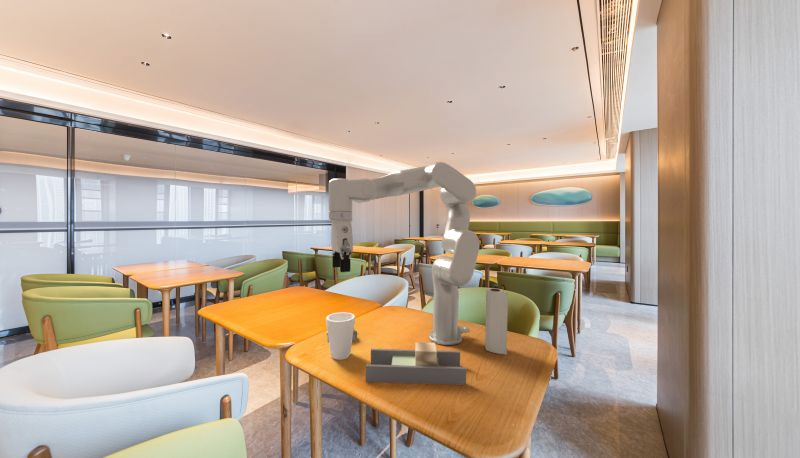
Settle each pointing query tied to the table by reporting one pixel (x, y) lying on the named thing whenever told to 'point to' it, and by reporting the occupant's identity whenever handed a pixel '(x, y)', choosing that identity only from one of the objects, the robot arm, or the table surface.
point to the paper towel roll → (496, 321)
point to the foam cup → (340, 334)
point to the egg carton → (352, 337)
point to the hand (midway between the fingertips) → (341, 269)
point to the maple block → (425, 354)
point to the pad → (403, 360)
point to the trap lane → (415, 368)
